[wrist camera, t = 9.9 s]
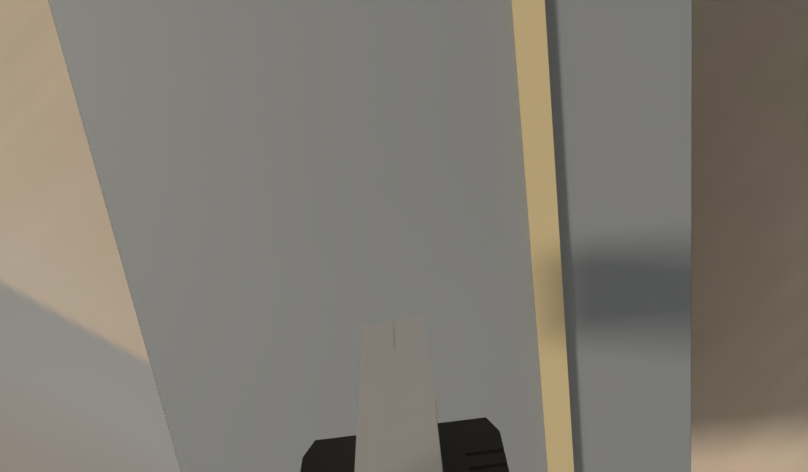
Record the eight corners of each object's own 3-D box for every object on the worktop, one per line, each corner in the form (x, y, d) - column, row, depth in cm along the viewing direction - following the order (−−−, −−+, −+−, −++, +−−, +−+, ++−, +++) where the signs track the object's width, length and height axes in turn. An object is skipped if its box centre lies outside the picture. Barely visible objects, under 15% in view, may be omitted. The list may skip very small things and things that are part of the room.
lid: (51, -68, 21) (22, -70, 19) (677, -161, 19) (696, -170, 18) (228, 584, 29) (217, 617, 27) (680, 557, 27) (693, 590, 26)
